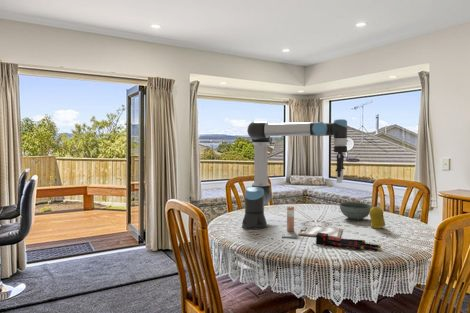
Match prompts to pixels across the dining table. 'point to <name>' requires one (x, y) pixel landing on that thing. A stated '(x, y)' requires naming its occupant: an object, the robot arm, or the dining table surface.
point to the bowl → (355, 210)
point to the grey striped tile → (289, 235)
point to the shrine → (376, 217)
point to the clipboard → (320, 231)
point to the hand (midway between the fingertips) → (340, 181)
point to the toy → (345, 242)
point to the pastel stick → (290, 218)
